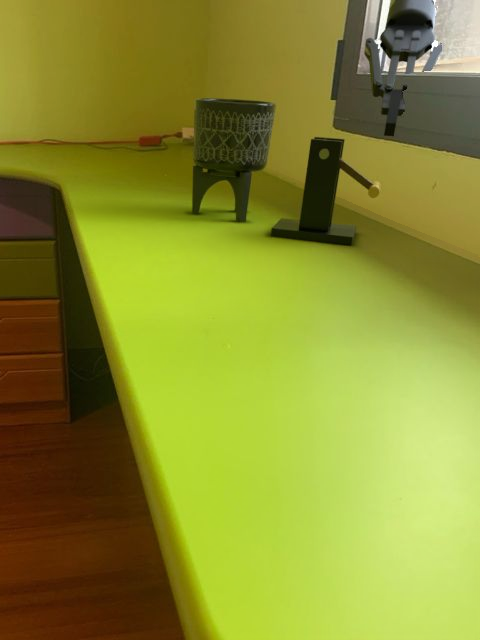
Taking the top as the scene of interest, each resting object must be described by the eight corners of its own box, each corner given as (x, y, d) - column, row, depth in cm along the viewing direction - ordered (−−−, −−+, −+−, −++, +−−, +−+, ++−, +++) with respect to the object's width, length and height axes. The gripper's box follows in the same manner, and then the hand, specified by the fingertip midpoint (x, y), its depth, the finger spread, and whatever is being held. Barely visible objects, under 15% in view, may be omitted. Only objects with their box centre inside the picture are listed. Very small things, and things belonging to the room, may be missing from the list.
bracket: (355, 233, 109) (371, 139, 103) (351, 245, 102) (368, 144, 95) (280, 225, 112) (291, 133, 106) (270, 236, 105) (282, 138, 98)
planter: (278, 221, 115) (292, 104, 107) (210, 224, 110) (220, 102, 102) (237, 206, 125) (248, 99, 117) (174, 209, 120) (180, 97, 112)
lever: (374, 196, 105) (385, 183, 103) (372, 202, 100) (383, 188, 98) (315, 151, 104) (326, 137, 103) (311, 155, 99) (321, 140, 98)
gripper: (449, 34, 114) (429, 150, 108) (368, 31, 118) (345, 143, 111) (459, -8, 107) (439, 114, 101) (373, -9, 111) (348, 108, 104)
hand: (389, 129), depth 106 cm, fingers closed
